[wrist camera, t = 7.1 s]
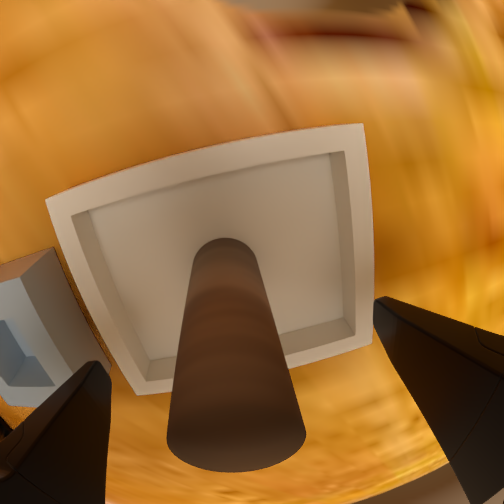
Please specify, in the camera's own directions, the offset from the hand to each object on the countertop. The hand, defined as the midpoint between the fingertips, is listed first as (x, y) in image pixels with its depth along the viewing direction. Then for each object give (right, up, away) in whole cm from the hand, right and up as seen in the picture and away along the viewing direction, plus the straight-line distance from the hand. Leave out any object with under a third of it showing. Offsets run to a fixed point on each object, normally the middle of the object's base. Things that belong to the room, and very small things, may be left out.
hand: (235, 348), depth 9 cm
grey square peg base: (-13, -1, +6) cm, 14 cm away
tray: (-1, +2, +6) cm, 6 cm away
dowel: (-1, +2, +5) cm, 6 cm away
